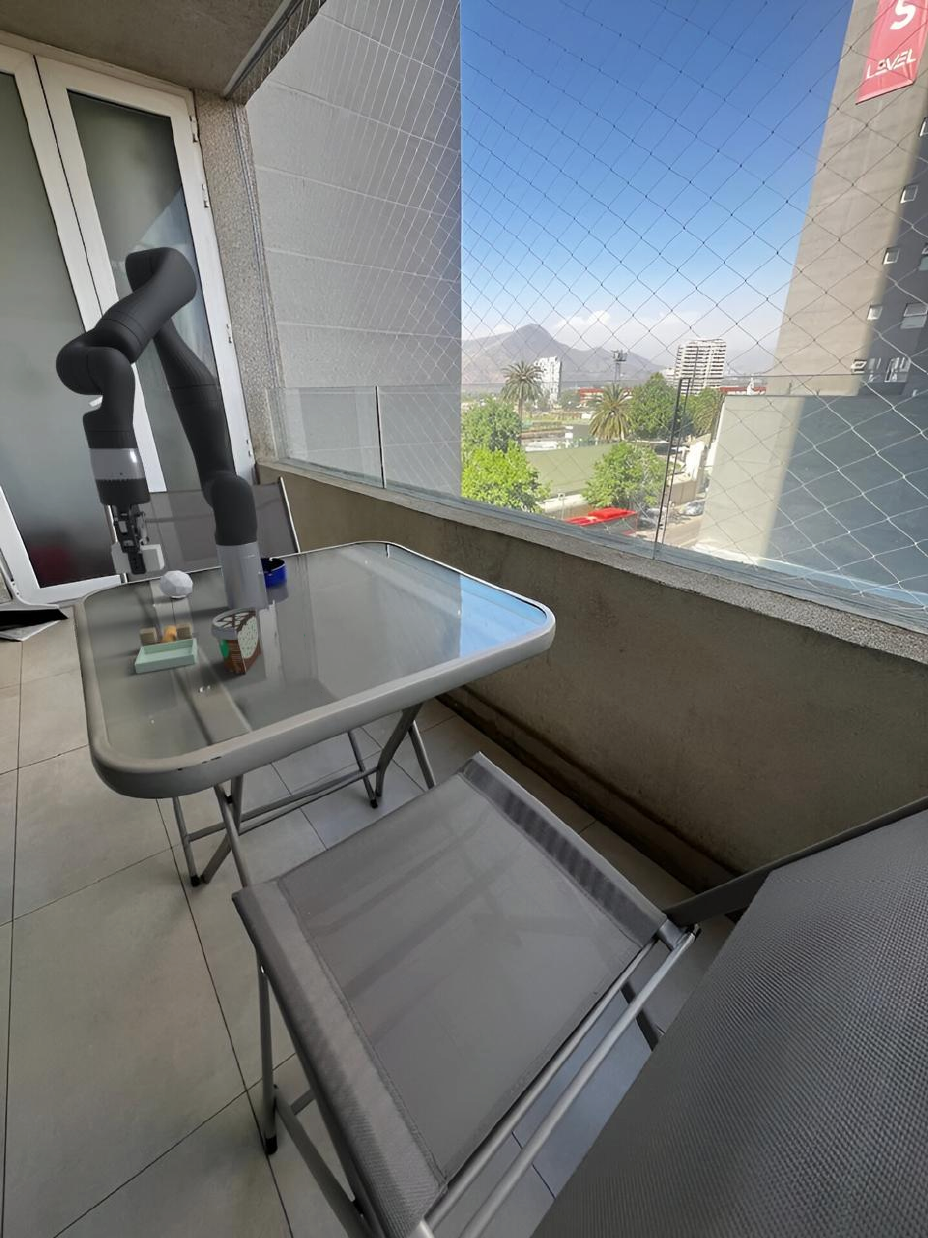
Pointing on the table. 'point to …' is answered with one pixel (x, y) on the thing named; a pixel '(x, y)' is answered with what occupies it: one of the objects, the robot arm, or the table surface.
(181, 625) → the tan blocks
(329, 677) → the table surface
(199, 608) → the table surface
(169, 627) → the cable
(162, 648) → the tray
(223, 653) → the food container
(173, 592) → the ball
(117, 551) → the white notched block
